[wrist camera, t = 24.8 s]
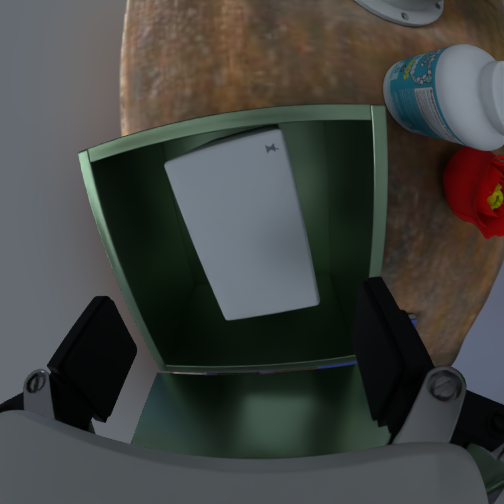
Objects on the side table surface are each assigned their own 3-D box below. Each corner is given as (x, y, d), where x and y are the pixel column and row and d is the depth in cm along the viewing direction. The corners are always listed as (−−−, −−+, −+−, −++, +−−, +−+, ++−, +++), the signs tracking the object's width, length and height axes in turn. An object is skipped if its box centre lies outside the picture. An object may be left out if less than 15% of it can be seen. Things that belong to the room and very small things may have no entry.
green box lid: (92, 573, 3) (137, 577, 5) (416, 589, 1) (385, 583, 3) (156, 372, 18) (177, 409, 21) (367, 361, 17) (357, 401, 19)
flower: (454, 126, 19) (506, 138, 12) (488, 171, 21) (534, 193, 14) (419, 184, 23) (466, 212, 16) (457, 223, 24) (499, 256, 17)
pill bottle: (421, 53, 16) (518, 33, 4) (451, 119, 19) (552, 142, 7) (364, 74, 18) (456, 46, 7) (400, 145, 21) (501, 182, 9)
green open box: (155, 133, 22) (76, 152, 12) (329, 110, 20) (386, 105, 10) (191, 287, 29) (160, 371, 19) (335, 275, 28) (365, 360, 18)
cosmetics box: (203, 143, 22) (157, 163, 12) (277, 122, 21) (287, 124, 11) (237, 249, 26) (223, 325, 17) (304, 234, 25) (325, 306, 16)
